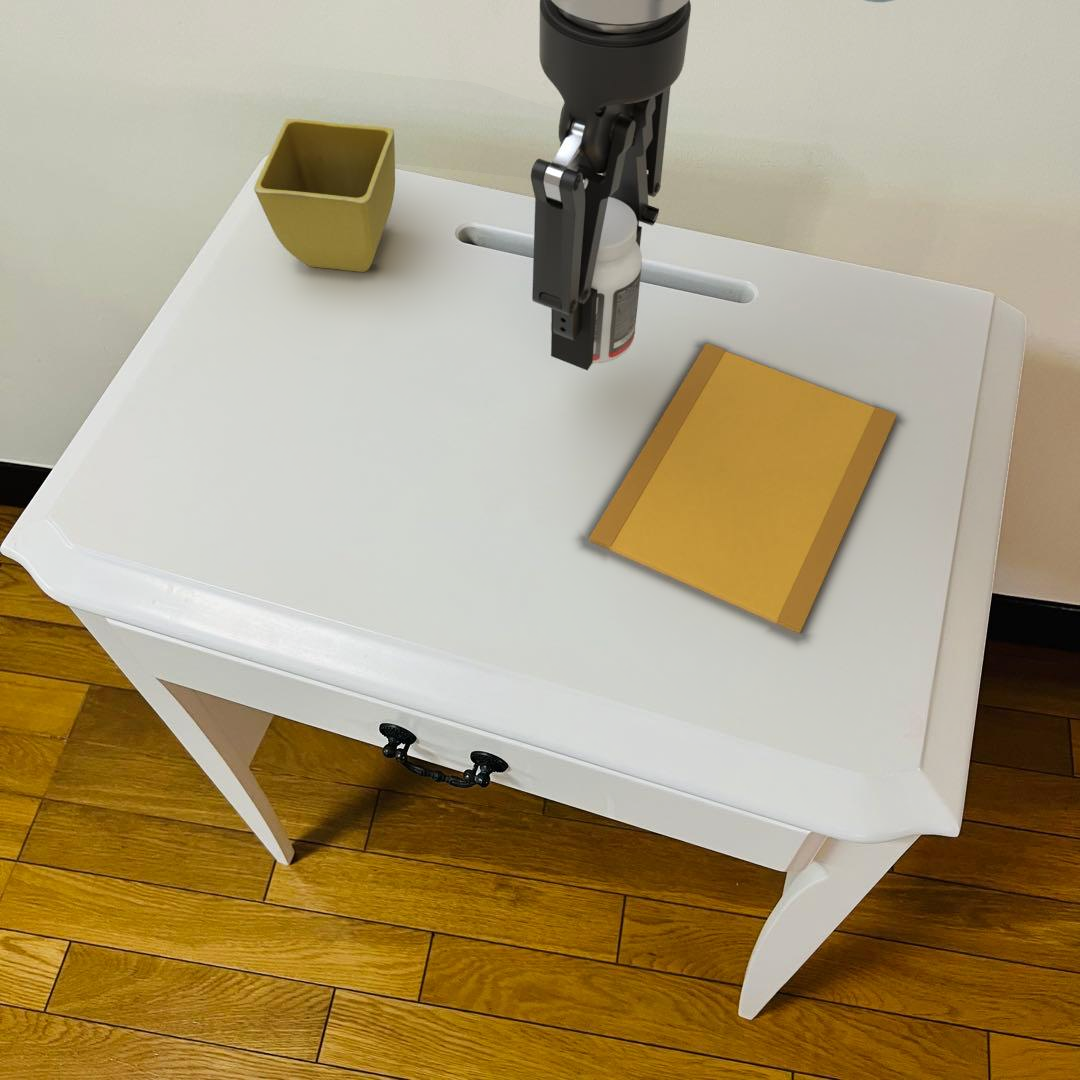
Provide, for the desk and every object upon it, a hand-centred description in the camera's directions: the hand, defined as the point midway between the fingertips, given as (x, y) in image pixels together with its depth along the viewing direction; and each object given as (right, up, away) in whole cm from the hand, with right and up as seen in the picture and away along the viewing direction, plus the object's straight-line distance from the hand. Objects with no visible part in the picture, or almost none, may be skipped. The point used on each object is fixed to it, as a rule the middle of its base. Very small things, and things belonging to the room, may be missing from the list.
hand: (593, 327), depth 71 cm
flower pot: (-20, +9, +15) cm, 27 cm away
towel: (+11, -10, +3) cm, 15 cm away
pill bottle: (0, -1, +1) cm, 1 cm away
